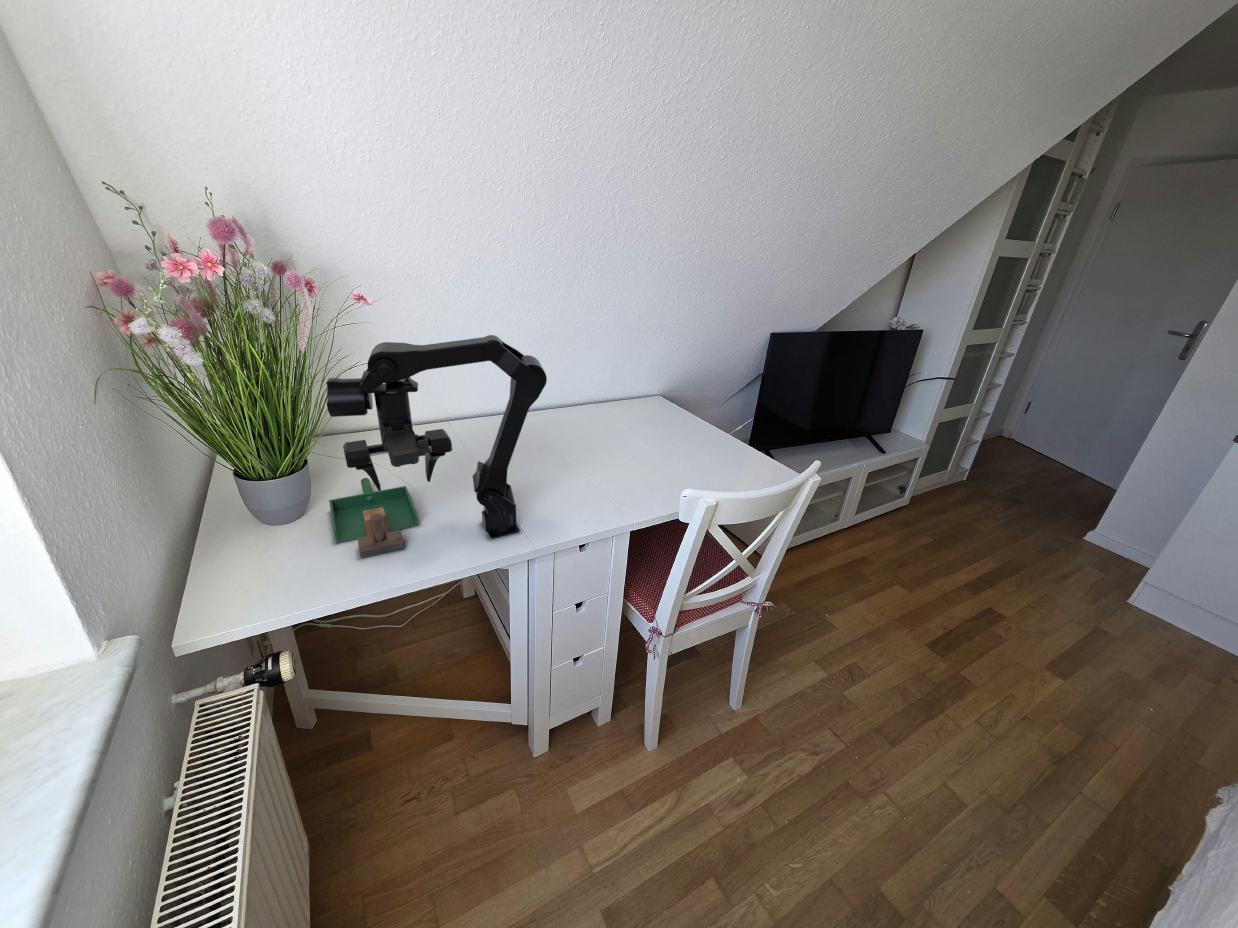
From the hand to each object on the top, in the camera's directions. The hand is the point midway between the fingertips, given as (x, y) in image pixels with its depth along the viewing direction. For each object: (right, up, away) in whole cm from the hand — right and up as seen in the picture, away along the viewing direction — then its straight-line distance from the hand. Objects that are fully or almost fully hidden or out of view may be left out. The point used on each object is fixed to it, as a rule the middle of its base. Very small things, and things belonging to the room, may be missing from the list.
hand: (404, 485), depth 102 cm
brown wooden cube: (-8, -9, +5) cm, 13 cm away
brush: (-5, -13, +2) cm, 14 cm away
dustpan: (-13, -6, +14) cm, 20 cm away
